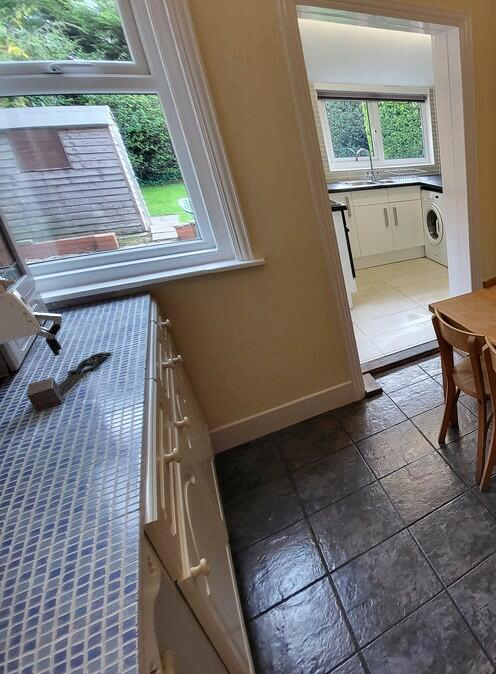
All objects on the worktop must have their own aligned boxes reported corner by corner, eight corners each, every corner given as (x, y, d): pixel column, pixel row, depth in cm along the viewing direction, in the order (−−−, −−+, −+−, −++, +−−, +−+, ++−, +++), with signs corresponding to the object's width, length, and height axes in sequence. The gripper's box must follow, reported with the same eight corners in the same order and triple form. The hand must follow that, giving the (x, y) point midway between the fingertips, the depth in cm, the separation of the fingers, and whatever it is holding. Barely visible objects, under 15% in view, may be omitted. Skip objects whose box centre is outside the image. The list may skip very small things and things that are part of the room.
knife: (58, 405, 95) (55, 400, 94) (24, 410, 94) (21, 405, 93) (119, 354, 117) (117, 349, 117) (92, 358, 116) (90, 353, 115)
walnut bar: (62, 404, 94) (52, 387, 92) (37, 412, 92) (26, 395, 90) (62, 392, 99) (52, 376, 97) (38, 400, 96) (28, 384, 94)
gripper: (39, 275, 92) (79, 342, 99) (-85, 300, 81) (-30, 372, 88) (38, 282, 87) (80, 352, 94) (-94, 309, 76) (-35, 386, 83)
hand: (27, 362), depth 91 cm, fingers open, 9 cm apart
